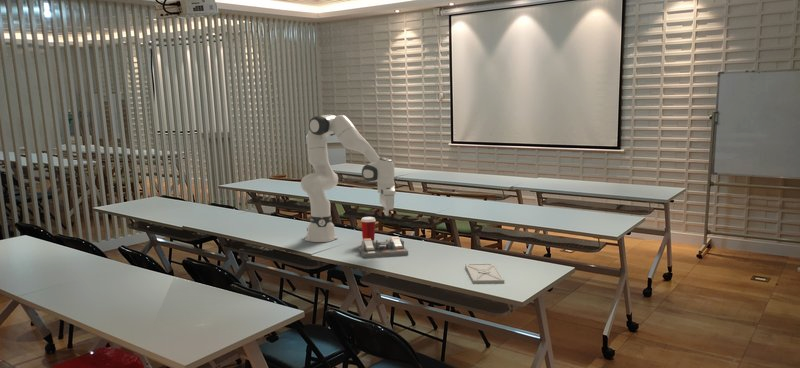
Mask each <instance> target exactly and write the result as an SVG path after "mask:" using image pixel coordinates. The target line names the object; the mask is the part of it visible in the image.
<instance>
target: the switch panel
mask: <svg viewBox="0 0 800 368" xmlns="http://www.w3.org/2000/svg"><path fill="white" fill-rule="evenodd" d="M399 239H400V242H401V244H402V246H403V248H399V249H395V248H394V242H393V241H392V240H391V238H389V240H388V239H385V241H388V243H389V244H386V245H379V241H378V240H377V239H376V240H375V239H374V240H372V243H373V246H374V250H366V247H365V243H364V242H363V240H362V241H361V247H359V252H360V254H361V255H362V257H363V258H364V259H367V258H368V259H369V258H370V259H371V258H384V257H397V256H400V257H401V256H408V255H409V250H408V249H407V248H406V247H405V241H404V240H403V239H402V238H399Z"/></svg>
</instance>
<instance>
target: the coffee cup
mask: <svg viewBox="0 0 800 368" xmlns="http://www.w3.org/2000/svg"><path fill="white" fill-rule="evenodd" d="M376 221H377V220H376V218H375V217H373V216H364V217H362V218H361V220H360V222H361V234H362V240H363V239H369V238H371V240H374V241H375V234H376V233H375V232H376V231H375V230H376Z"/></svg>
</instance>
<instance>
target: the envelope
mask: <svg viewBox="0 0 800 368" xmlns="http://www.w3.org/2000/svg"><path fill="white" fill-rule="evenodd" d="M464 267H465V271H466V272H467V274H468V276H469V278H470V280H471V282H472V283H473V284H504V283H505V279H504V277H503V275H502V274H501V272H500V271H499V269H498V268H497V266H496V265H495V263H465V266H464Z"/></svg>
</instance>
